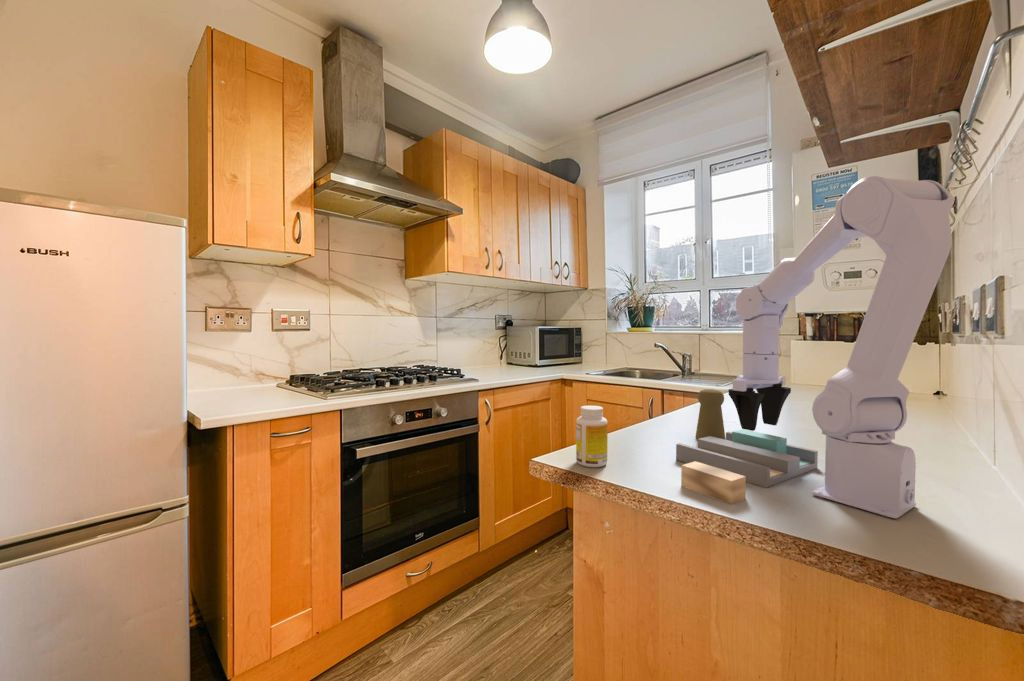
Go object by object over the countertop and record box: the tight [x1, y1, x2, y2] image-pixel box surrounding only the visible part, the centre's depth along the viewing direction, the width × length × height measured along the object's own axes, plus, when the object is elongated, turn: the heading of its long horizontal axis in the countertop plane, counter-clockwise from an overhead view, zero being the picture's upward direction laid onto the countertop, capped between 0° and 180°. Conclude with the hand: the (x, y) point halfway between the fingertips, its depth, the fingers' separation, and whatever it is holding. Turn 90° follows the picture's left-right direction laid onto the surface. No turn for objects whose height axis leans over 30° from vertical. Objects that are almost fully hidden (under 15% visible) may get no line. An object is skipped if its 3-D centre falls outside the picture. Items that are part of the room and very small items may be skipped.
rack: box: [675, 431, 819, 489], centre depth 75 cm, size 16×17×3 cm
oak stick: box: [680, 461, 747, 506], centre depth 62 cm, size 8×4×4 cm, turn 32°
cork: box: [694, 388, 726, 441], centre depth 92 cm, size 6×6×11 cm
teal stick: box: [731, 428, 788, 454], centre depth 78 cm, size 8×4×4 cm, turn 32°
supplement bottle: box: [575, 404, 608, 468], centre depth 76 cm, size 6×6×10 cm
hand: (759, 426), depth 78 cm, fingers open, 7 cm apart
